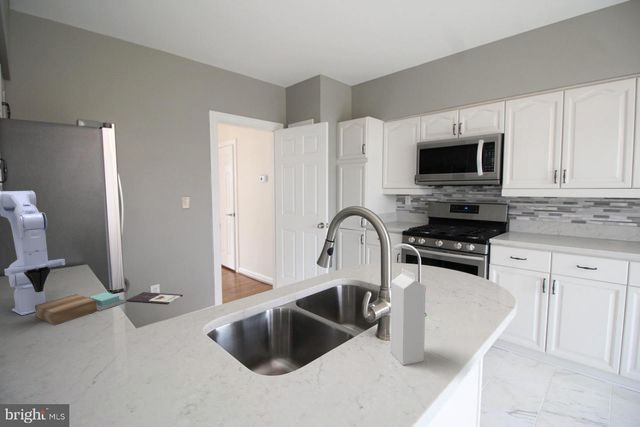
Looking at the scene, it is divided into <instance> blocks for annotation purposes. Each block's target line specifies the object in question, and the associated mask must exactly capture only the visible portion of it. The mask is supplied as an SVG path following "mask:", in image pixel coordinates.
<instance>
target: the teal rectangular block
mask: <svg viewBox="0 0 640 427" xmlns="http://www.w3.org/2000/svg"><path fill="white" fill-rule="evenodd" d="M88 298H91V299H94V300H96V304H97V305H99V306H105V305H108V304H111V303H114V302H117V301H119V299H120V295H118V294H114V293H111V292H107V291H105V292H102V293H98V294H94V295H91V296H89V297H88Z"/></svg>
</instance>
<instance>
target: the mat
mask: <svg viewBox="0 0 640 427" xmlns="http://www.w3.org/2000/svg"><path fill="white" fill-rule="evenodd" d="M126 303H129V302H128V301H126V300H124V299H121V298H119V301H117V302H114V303H111V304H108V305H105V306H99V305H97V311H96V312H102V311H105V310H106V311H107V310H108V309H111V308H115V307H118V306H120V305H123V304H126Z"/></svg>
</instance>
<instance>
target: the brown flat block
mask: <svg viewBox="0 0 640 427" xmlns="http://www.w3.org/2000/svg"><path fill="white" fill-rule="evenodd" d="M96 312H98V311H97V304H96V300H94V299H91V298H89V297H87V296H84V295H82V294H79V293H75V294H72V295H71V294H70V295H67V296H64V297H61V298H57V299H53V300H50V301H45V303H41V304H37V305H35V312H34V313H35V317H36V318H38V319H40V320H43V321H45V322H47V323H50V324H52V325H53V326H57V325H59V324H60V325H61V324H63V323H66V322H69V321H71V320H75V319H78V318H81V317H84V316H86V315H87V316H88V315H90V314H93V313H96Z"/></svg>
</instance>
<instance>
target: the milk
mask: <svg viewBox="0 0 640 427" xmlns="http://www.w3.org/2000/svg"><path fill="white" fill-rule="evenodd" d="M426 288H427V287H426V285H424V284H422V283H421V282H419V281H417V280H416V273H414V272H412V271H409V270H407V269H405V268H403V267H402V268H401V273H400V274H398V275H397V276H396V277H395V278H393V279H392V280H391V282H390V334H389V335H390V339H389V340H390V341H389V342H390V343H389V344H390V345H389V346H390V347H389V348H390V349H389V350H390V352H389V353H390V354H391V355H392V356H393V357H394V358H395V359H396V360H397V361H398V362H399V363H400V364H401V365H402V366H407V365H412V364H417V363H420V362H421V363H422V362H424V361H425V329H426V328H425V327H426V326H425V325H426Z"/></svg>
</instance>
